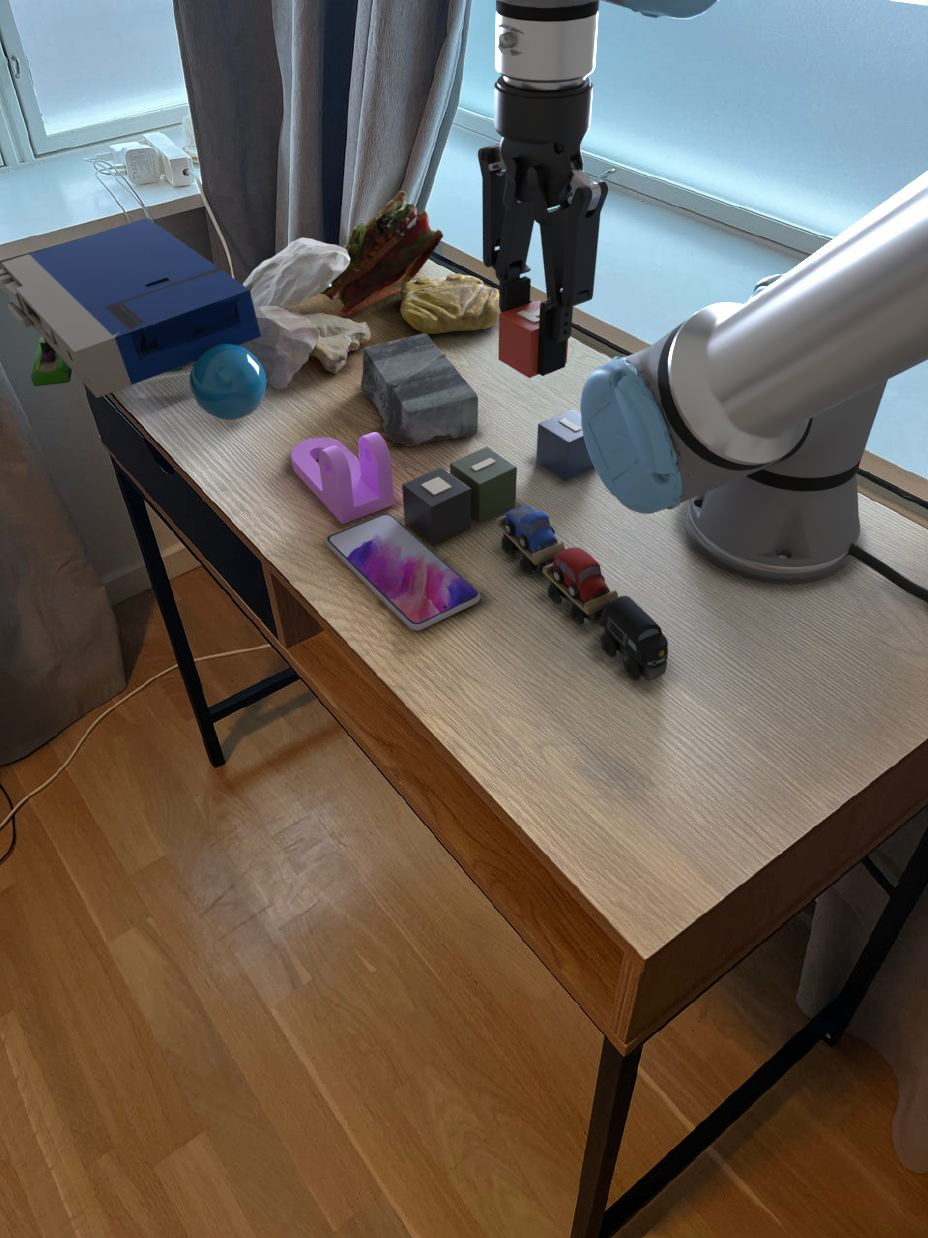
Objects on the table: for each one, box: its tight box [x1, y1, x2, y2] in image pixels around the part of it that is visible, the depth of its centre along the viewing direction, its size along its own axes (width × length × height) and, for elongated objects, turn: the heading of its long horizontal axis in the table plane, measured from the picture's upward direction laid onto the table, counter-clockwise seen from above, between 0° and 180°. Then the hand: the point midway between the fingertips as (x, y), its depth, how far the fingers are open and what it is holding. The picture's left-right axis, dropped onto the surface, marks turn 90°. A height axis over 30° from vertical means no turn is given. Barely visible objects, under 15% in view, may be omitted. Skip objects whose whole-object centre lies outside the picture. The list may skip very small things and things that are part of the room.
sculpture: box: [400, 272, 502, 335], centre depth 122 cm, size 13×4×15 cm
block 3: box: [535, 408, 595, 482], centre depth 97 cm, size 4×4×5 cm
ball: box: [189, 344, 268, 421], centre depth 103 cm, size 8×8×8 cm
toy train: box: [495, 504, 669, 682], centre depth 81 cm, size 4×22×5 cm, turn 31°
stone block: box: [360, 332, 479, 447], centre depth 104 cm, size 9×14×5 cm, turn 24°
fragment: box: [242, 237, 350, 309], centre depth 119 cm, size 15×20×5 cm
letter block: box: [497, 299, 569, 379], centre depth 87 cm, size 4×4×5 cm
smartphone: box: [325, 512, 481, 632], centre depth 85 cm, size 7×1×15 cm
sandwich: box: [319, 190, 444, 317], centre depth 122 cm, size 16×12×8 cm
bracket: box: [290, 431, 395, 525], centre depth 94 cm, size 13×6×7 cm, turn 33°
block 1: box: [401, 466, 472, 547], centre depth 89 cm, size 4×4×5 cm
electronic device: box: [0, 217, 261, 399], centre depth 108 cm, size 20×5×30 cm
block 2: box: [449, 446, 518, 524], centre depth 92 cm, size 4×4×5 cm
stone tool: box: [239, 306, 320, 390], centre depth 111 cm, size 9×5×15 cm
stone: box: [286, 308, 371, 375], centre depth 115 cm, size 13×4×10 cm
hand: (532, 358), depth 89 cm, fingers closed on letter block, 4 cm apart
